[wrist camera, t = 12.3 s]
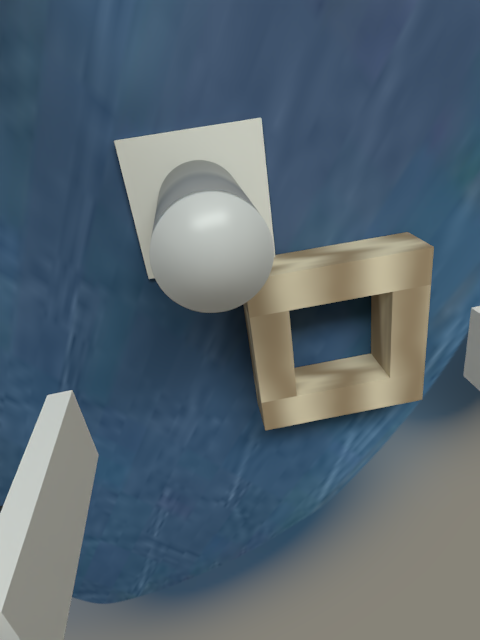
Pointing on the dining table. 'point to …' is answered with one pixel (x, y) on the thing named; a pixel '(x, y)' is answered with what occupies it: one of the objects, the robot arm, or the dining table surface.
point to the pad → (186, 145)
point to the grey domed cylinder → (208, 240)
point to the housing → (333, 286)
